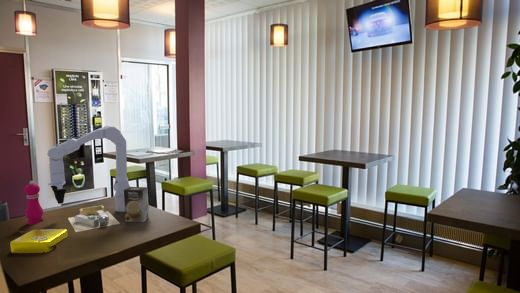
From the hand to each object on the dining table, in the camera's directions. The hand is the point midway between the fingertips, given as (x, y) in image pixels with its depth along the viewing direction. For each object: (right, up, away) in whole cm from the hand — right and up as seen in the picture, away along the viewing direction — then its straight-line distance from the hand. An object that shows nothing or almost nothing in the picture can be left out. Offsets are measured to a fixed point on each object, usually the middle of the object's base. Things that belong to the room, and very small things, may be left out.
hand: (59, 201), depth 169 cm
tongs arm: (+15, -9, -5) cm, 18 cm away
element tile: (+7, -14, -26) cm, 30 cm away
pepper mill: (-13, -10, +2) cm, 16 cm away
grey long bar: (+20, -9, -1) cm, 22 cm away
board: (+16, -10, 0) cm, 19 cm away
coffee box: (+36, -10, 0) cm, 37 cm away
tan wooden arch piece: (+12, -8, +8) cm, 16 cm away
